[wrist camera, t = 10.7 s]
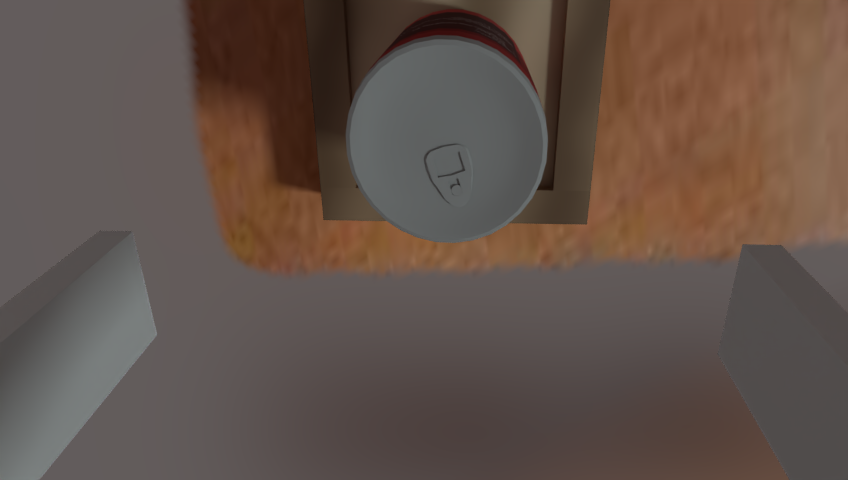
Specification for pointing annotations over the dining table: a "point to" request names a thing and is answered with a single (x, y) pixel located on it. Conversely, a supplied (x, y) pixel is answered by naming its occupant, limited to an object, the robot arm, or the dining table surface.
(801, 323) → the robot arm
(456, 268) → the dining table surface
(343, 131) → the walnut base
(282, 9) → the dining table surface
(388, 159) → the canned food
